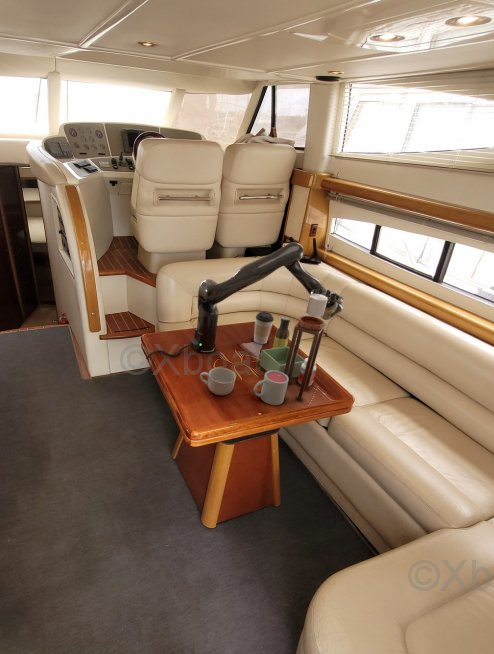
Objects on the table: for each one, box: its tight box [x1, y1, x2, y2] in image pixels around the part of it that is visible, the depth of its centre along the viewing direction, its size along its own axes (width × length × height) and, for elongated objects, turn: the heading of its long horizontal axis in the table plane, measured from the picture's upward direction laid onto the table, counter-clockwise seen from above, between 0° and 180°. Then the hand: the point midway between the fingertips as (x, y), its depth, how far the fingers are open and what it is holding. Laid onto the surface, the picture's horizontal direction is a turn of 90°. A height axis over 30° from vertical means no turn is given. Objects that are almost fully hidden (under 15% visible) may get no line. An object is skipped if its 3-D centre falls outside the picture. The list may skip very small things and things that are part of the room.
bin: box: [258, 345, 306, 379], centre depth 172 cm, size 14×14×8 cm
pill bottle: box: [297, 357, 317, 387], centre depth 163 cm, size 6×6×11 cm
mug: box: [253, 371, 289, 406], centre depth 151 cm, size 14×9×10 cm
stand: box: [284, 315, 327, 401], centre depth 152 cm, size 10×9×32 cm
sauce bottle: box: [272, 316, 291, 349], centre depth 180 cm, size 6×6×20 cm
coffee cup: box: [253, 311, 275, 345], centre depth 195 cm, size 9×9×15 cm
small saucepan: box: [305, 289, 328, 318], centre depth 147 cm, size 17×6×6 cm, turn 150°
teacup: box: [199, 366, 237, 396], centre depth 153 cm, size 14×11×8 cm
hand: (324, 291), depth 148 cm, fingers closed on small saucepan
